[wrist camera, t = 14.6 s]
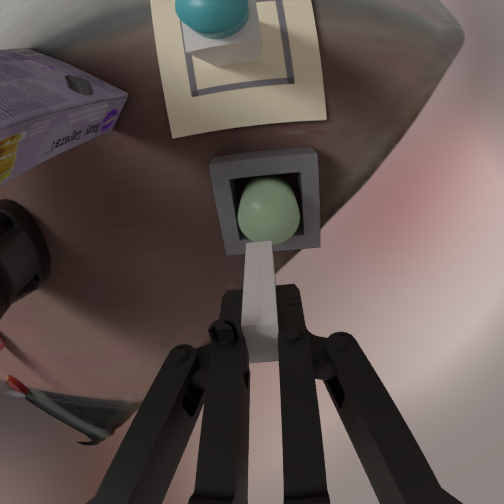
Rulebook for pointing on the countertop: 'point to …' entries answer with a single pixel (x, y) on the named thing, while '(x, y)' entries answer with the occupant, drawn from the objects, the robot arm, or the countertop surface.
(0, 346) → the ink cartridge box
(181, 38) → the cream square mat
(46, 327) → the countertop surface
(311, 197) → the button box
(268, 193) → the button
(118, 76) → the countertop surface
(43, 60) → the cake pan box
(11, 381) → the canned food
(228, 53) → the teal capped white bottle
